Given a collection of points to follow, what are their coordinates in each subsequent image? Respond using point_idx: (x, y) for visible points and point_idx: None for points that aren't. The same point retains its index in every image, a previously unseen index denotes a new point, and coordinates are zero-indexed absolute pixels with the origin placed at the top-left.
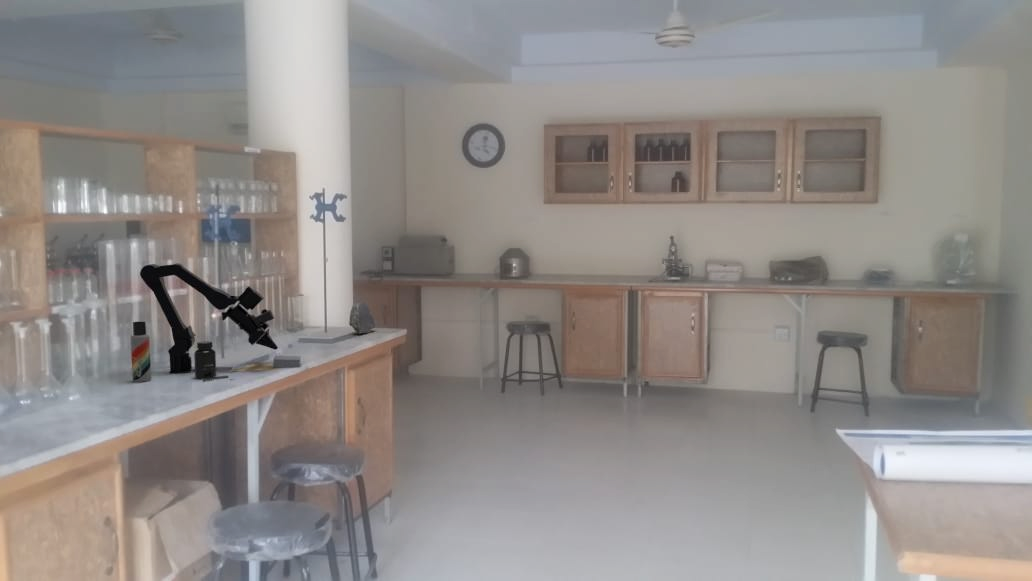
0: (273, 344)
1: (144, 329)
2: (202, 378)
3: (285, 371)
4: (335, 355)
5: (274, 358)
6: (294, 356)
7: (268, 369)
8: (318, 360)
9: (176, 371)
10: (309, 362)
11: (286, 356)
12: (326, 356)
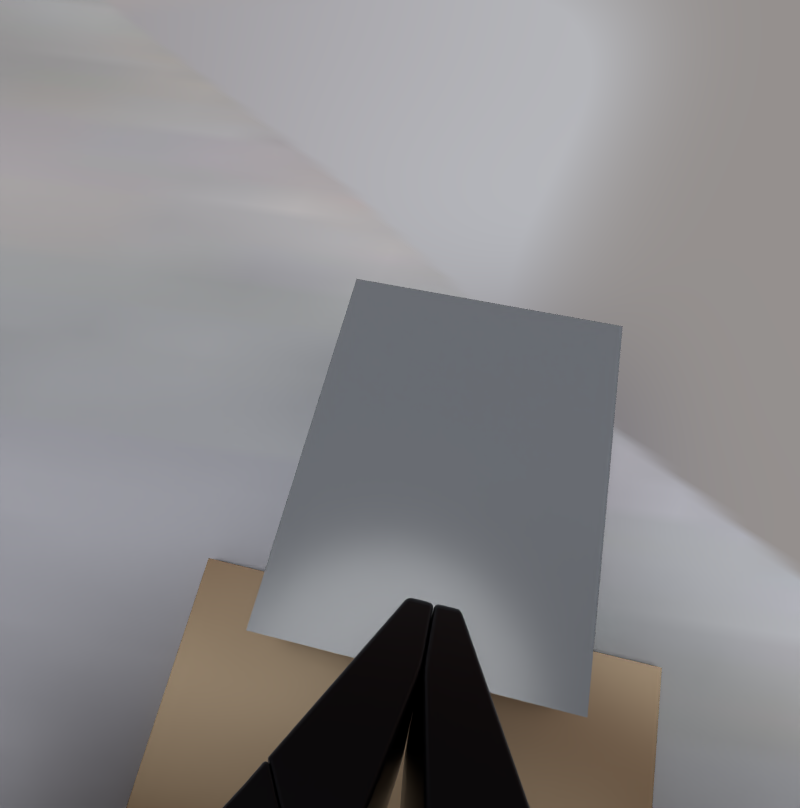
0: (493, 738)
1: None
2: None
3: (744, 564)
4: (65, 5)
5: (506, 684)
6: (357, 351)
7: (626, 794)
8: (223, 151)
9: None
10: (284, 237)
11: (340, 456)
12: (62, 68)
